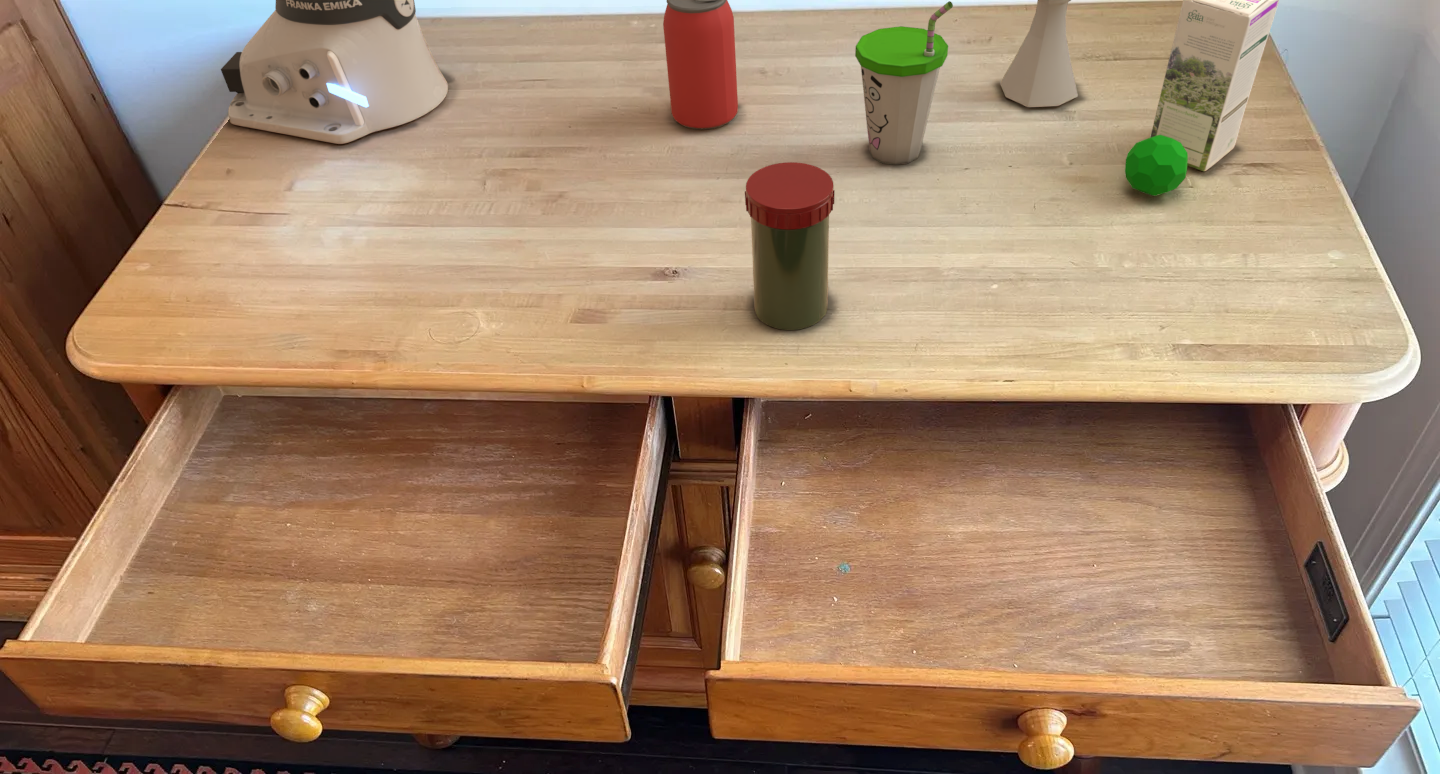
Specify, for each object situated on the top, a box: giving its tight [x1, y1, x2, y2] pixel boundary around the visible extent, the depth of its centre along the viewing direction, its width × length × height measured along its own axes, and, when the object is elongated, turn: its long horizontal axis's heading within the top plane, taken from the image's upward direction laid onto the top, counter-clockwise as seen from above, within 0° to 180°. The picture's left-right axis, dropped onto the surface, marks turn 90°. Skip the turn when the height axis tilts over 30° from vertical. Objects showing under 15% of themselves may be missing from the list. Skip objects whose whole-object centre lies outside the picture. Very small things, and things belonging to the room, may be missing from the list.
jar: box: [750, 215, 830, 331], centre depth 78 cm, size 6×6×10 cm
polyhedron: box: [1124, 135, 1188, 197], centre depth 89 cm, size 5×5×5 cm
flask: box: [999, 0, 1079, 108], centre depth 101 cm, size 7×7×10 cm
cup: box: [854, 1, 954, 166], centre depth 92 cm, size 8×8×15 cm
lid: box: [744, 161, 835, 230], centre depth 74 cm, size 6×6×2 cm
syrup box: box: [1149, 0, 1280, 172], centre depth 90 cm, size 6×6×14 cm
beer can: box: [662, 0, 739, 130], centre depth 100 cm, size 7×7×12 cm
